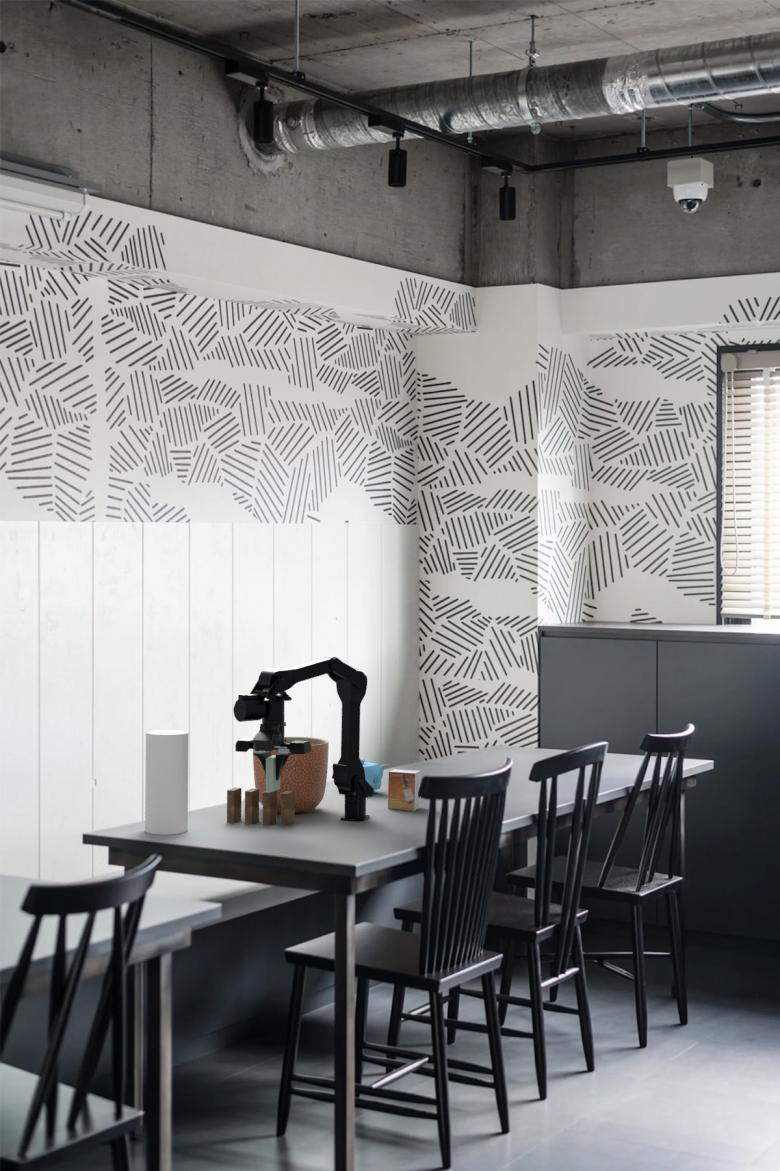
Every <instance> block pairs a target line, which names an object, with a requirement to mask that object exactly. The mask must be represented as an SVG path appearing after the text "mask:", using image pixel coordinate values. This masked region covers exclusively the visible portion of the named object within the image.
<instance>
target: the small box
mask: <svg viewBox="0 0 780 1171" xmlns="http://www.w3.org/2000/svg"><path fill="white" fill-rule="evenodd" d="M387 780H388V783H387V784H388V787H387V791H388V792H387V809H388V810H389V809H390V810H391V809H392V810H401V811H402V810H403V811H404V810H405V811H410V810H415V809H417V808H419V807H420V808H421V798H420V799H419V798H418V790H419V787H420V783H421V784H422V771H421V770H410V769H408V770H407V769H396V768H394V769H392V770H389V771H388V778H387ZM420 808H419V809H420ZM417 810H418V809H417ZM415 811H416V810H415Z"/></svg>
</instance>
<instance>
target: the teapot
mask: <svg viewBox="0 0 780 1171" xmlns="http://www.w3.org/2000/svg"><path fill="white" fill-rule="evenodd" d="M360 760H361V762H362V765H363V767H364V771H365V780H366V781H367V782H368V783H369V784H370V786H371V787H372V788H373V789H374V790H373V794H376V791H378V790H380V789H381V787H382V779H383V776H384V770H385V768H386V767H387V766H388V764H381V765H380V763H375V762H366V760H365V759H364V758H360Z"/></svg>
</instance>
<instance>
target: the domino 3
mask: <svg viewBox="0 0 780 1171" xmlns="http://www.w3.org/2000/svg"><path fill="white" fill-rule="evenodd" d="M276 763H277V760H276V756H275V755H272V756H270V757H267V758H266V791H268V792H274V791H276V790H278V789H280V778H279V780H276Z"/></svg>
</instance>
